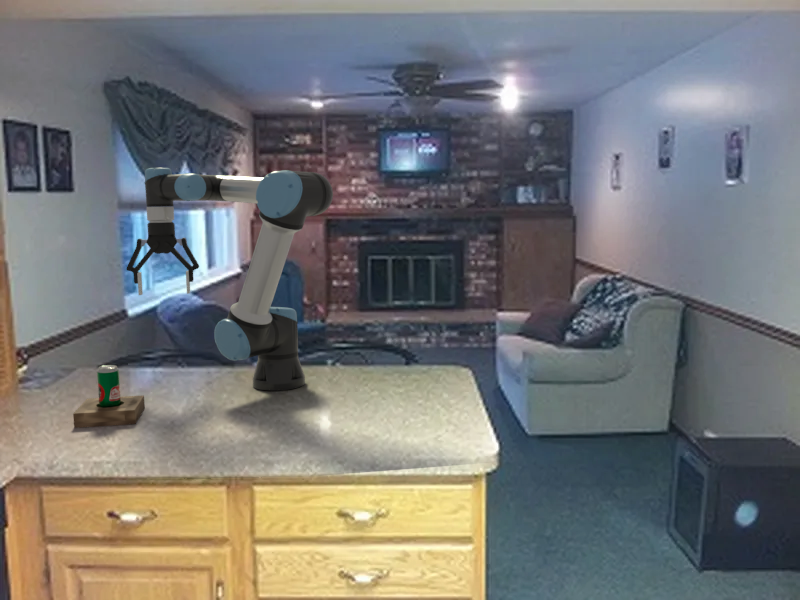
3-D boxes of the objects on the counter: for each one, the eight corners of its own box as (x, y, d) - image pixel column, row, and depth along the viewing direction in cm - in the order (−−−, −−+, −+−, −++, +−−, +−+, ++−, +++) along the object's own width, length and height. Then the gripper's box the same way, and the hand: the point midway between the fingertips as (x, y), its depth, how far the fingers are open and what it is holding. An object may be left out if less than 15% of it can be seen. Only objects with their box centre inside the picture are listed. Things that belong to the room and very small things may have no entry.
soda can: (114, 417, 180) (111, 369, 179) (95, 416, 181) (92, 368, 180) (125, 411, 185) (122, 364, 184) (107, 410, 186) (104, 364, 185)
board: (144, 408, 191) (144, 395, 191) (135, 424, 178) (134, 410, 177) (88, 411, 189) (87, 398, 188) (74, 427, 175) (73, 413, 175)
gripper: (205, 220, 220) (208, 290, 223) (118, 222, 215) (122, 293, 218) (204, 221, 213) (207, 293, 216) (113, 222, 208) (118, 296, 211)
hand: (164, 294), depth 217 cm, fingers open, 13 cm apart
